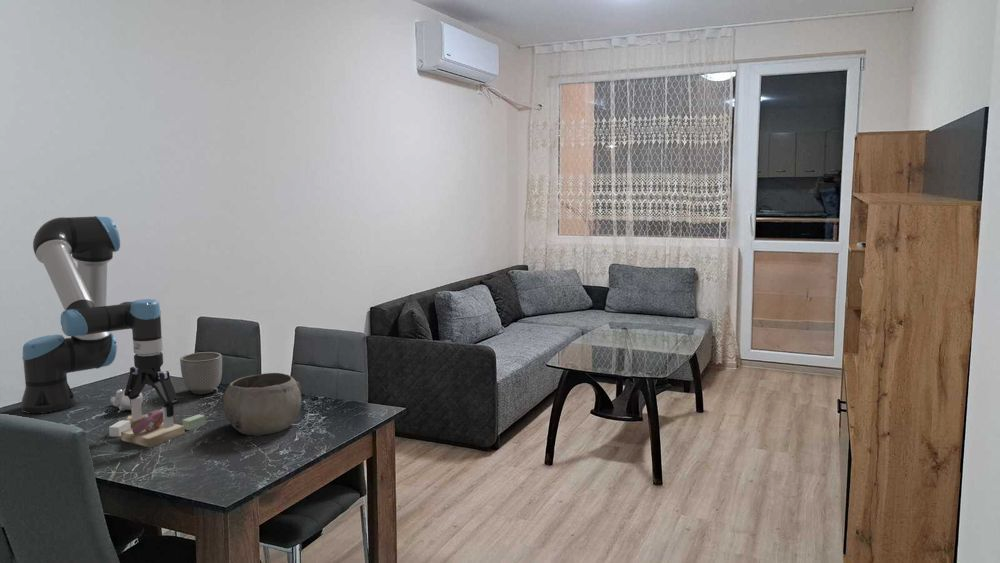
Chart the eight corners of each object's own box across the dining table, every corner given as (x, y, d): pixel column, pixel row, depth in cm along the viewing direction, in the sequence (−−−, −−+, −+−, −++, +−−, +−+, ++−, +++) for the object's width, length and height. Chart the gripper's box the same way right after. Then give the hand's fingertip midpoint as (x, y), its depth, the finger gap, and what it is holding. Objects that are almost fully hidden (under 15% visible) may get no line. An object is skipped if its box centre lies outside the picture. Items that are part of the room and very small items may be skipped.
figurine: (120, 379, 241) (135, 379, 230) (138, 391, 245) (154, 392, 234) (99, 405, 235) (114, 407, 225) (118, 417, 239) (133, 419, 229)
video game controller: (141, 440, 204) (149, 420, 202) (129, 432, 204) (137, 412, 203) (166, 429, 213) (174, 410, 211) (154, 421, 214) (162, 402, 212)
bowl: (281, 409, 235) (279, 365, 233) (316, 427, 219) (315, 380, 217) (212, 426, 219) (209, 379, 217) (244, 446, 203) (242, 395, 201)
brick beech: (127, 428, 217) (126, 419, 216) (128, 425, 220) (128, 416, 219) (149, 426, 219) (148, 416, 218) (150, 423, 222) (149, 413, 221)
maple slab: (121, 440, 206) (120, 432, 206) (157, 427, 217) (156, 419, 217) (149, 447, 201) (148, 438, 201) (184, 434, 212) (184, 426, 211)
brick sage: (189, 430, 215) (188, 421, 215) (182, 429, 217) (182, 419, 216) (205, 425, 220) (205, 415, 220) (199, 423, 222) (198, 414, 221)
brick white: (121, 429, 216) (120, 420, 215) (130, 430, 215) (130, 420, 215) (109, 436, 210) (109, 427, 209) (119, 437, 210) (118, 427, 209)
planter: (214, 397, 247) (212, 361, 245) (174, 397, 247) (172, 361, 246) (229, 386, 261) (228, 352, 259) (192, 385, 261) (190, 351, 259)
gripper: (108, 350, 208) (113, 420, 211) (166, 361, 197) (171, 434, 200) (131, 345, 214) (135, 413, 217) (189, 355, 203) (193, 426, 206)
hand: (152, 423), depth 209 cm, fingers open, 13 cm apart
